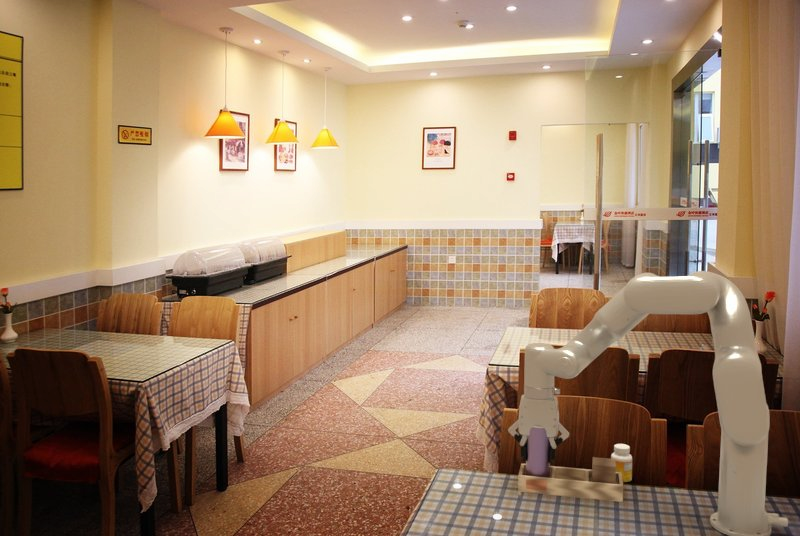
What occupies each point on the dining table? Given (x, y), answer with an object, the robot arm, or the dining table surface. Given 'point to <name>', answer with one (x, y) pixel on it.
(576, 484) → the rack
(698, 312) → the robot arm
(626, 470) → the supplement bottle
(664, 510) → the dining table surface
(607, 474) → the walnut block
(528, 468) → the beverage can
